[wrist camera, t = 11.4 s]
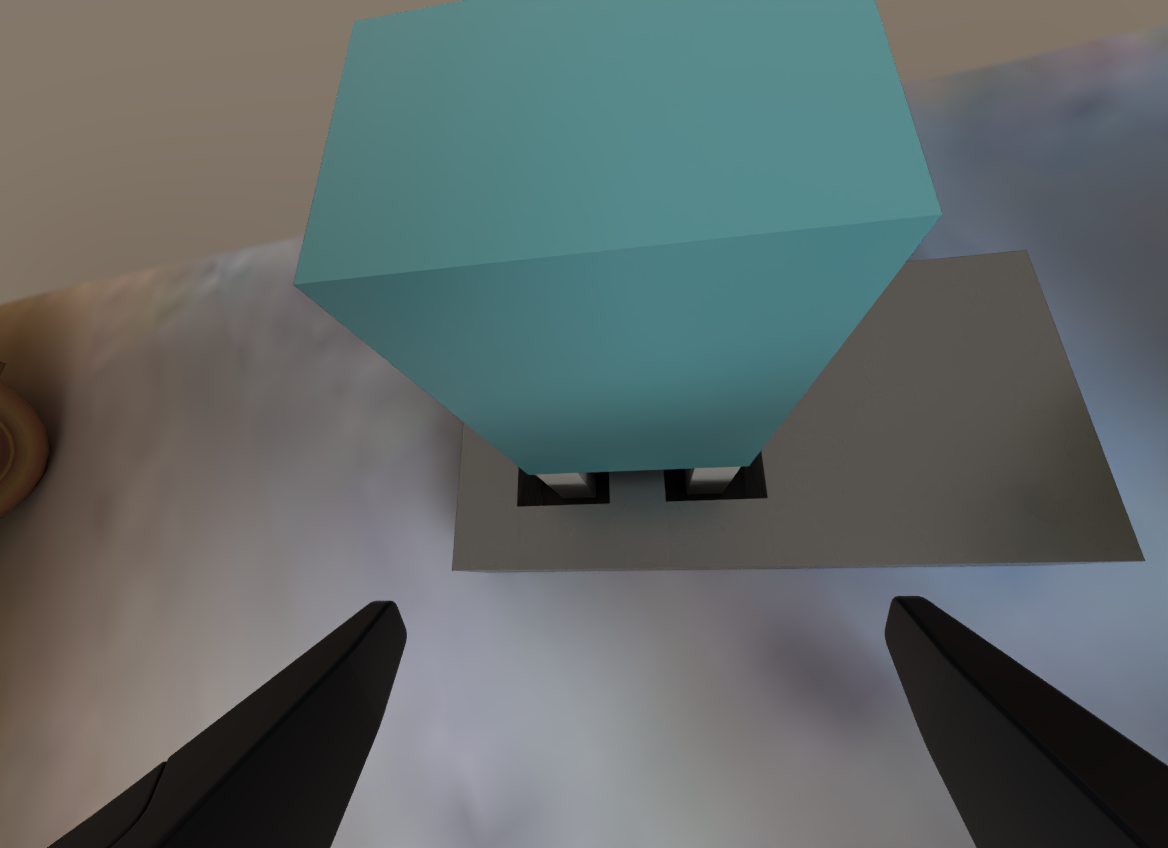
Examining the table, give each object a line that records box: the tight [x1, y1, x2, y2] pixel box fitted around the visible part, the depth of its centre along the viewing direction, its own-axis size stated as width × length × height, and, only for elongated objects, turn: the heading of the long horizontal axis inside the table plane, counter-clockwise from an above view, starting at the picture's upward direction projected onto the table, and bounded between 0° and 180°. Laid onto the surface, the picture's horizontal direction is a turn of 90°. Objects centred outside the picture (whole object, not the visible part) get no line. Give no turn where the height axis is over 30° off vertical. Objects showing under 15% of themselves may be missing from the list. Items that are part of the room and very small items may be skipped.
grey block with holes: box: [452, 250, 1145, 572], centre depth 15 cm, size 9×18×3 cm, turn 91°
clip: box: [293, 0, 942, 498], centre depth 11 cm, size 4×6×13 cm, turn 91°
